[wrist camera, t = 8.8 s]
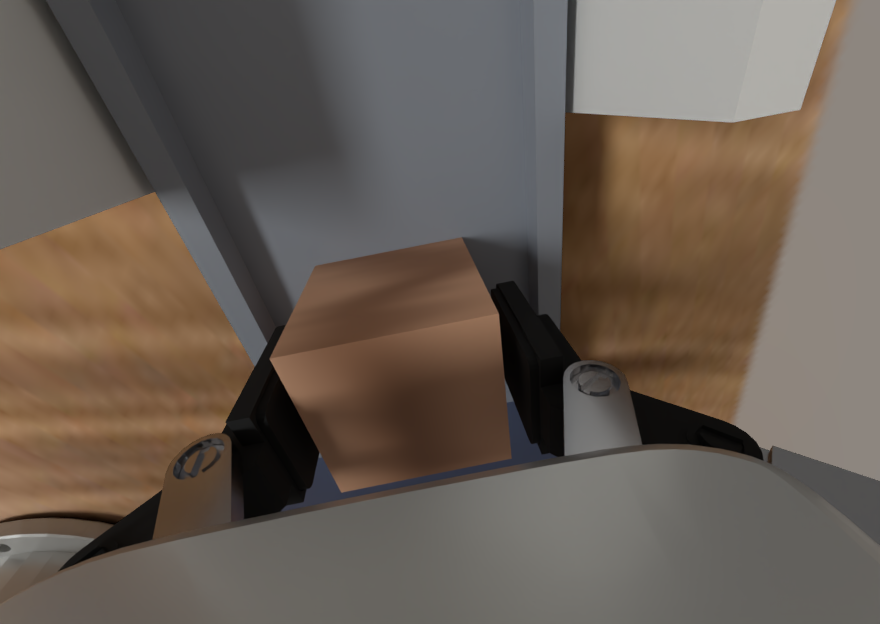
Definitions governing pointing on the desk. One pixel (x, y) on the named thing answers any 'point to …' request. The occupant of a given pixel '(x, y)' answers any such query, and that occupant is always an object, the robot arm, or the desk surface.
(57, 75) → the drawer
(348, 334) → the block
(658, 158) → the desk surface
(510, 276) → the blue pull-out tray
